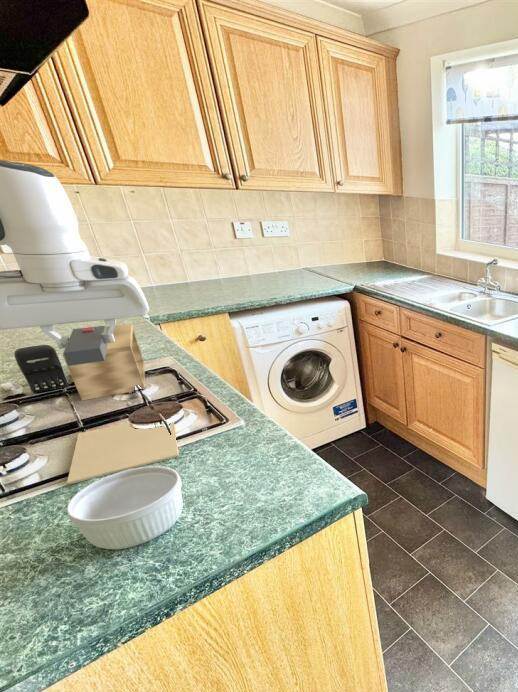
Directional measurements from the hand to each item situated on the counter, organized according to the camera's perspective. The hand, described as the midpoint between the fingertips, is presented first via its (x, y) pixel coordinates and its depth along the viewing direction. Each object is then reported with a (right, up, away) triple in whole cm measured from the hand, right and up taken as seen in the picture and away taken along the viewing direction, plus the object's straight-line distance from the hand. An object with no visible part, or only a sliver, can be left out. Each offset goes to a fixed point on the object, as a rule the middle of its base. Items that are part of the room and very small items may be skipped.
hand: (88, 344), depth 77 cm
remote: (0, -1, 0) cm, 1 cm away
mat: (-1, -20, +9) cm, 22 cm away
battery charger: (-39, -9, +29) cm, 49 cm away
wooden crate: (-28, -6, +35) cm, 46 cm away
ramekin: (+18, -30, -10) cm, 37 cm away
